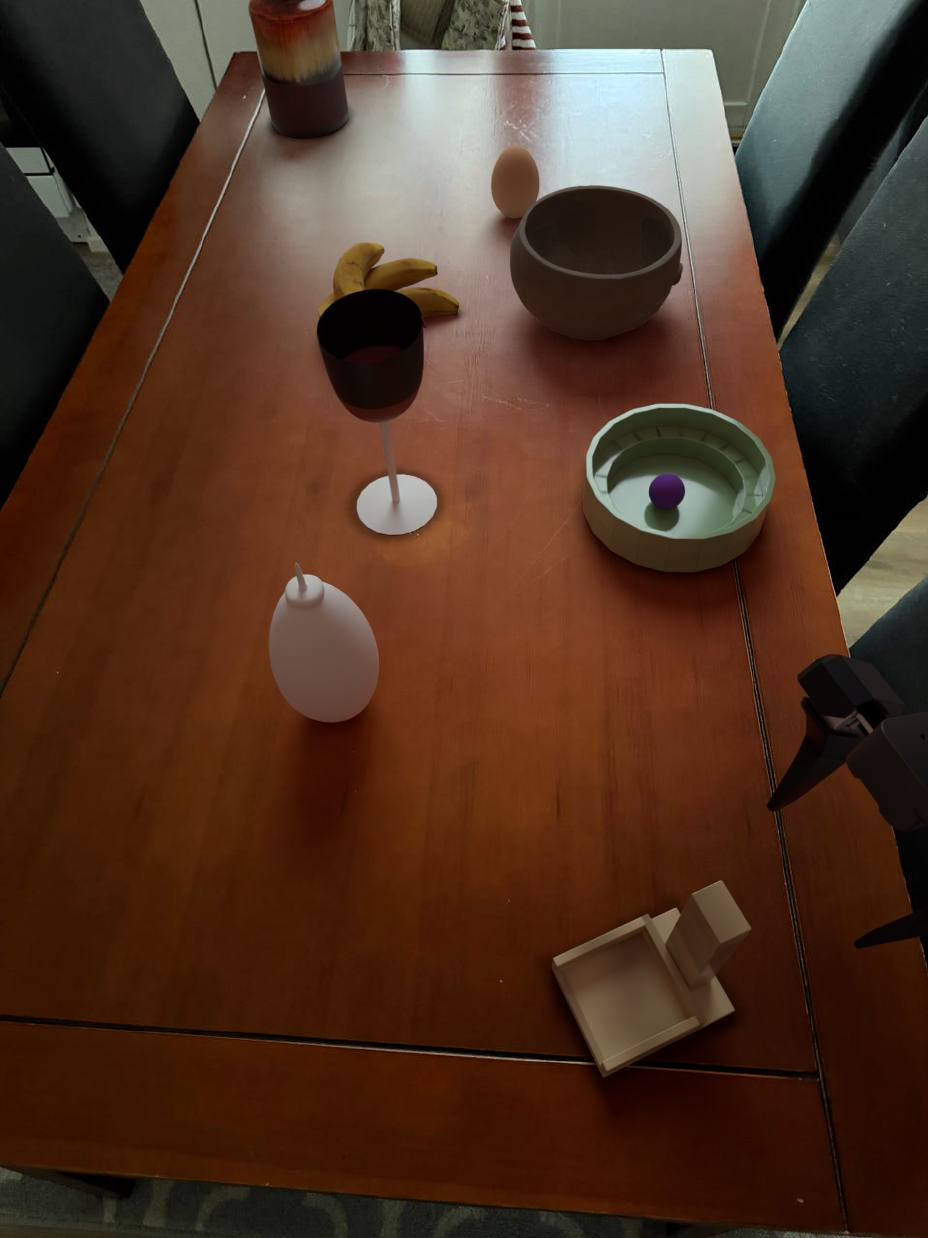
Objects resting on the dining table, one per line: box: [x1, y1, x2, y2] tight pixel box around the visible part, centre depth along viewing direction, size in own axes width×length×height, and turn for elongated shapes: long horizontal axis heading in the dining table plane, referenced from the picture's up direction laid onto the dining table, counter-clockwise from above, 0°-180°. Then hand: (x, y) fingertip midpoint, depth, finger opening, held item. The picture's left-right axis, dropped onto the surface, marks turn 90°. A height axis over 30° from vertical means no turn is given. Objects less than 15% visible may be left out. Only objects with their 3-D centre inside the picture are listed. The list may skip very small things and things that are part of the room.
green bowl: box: [581, 403, 777, 573], centre depth 81 cm, size 16×16×5 cm
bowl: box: [509, 184, 684, 341], centre depth 95 cm, size 17×18×10 cm
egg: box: [490, 145, 541, 219], centre depth 107 cm, size 6×6×8 cm
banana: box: [318, 241, 460, 329], centre depth 97 cm, size 15×19×6 cm
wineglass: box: [316, 289, 438, 536], centre depth 76 cm, size 8×9×20 cm
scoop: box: [551, 880, 752, 1078], centre depth 54 cm, size 10×7×13 cm
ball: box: [649, 474, 685, 509], centre depth 81 cm, size 3×3×3 cm
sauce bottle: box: [268, 562, 380, 723], centre depth 65 cm, size 8×8×18 cm
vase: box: [247, 0, 350, 139], centre depth 117 cm, size 11×11×20 cm
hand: (812, 874), depth 55 cm, fingers open, 9 cm apart
